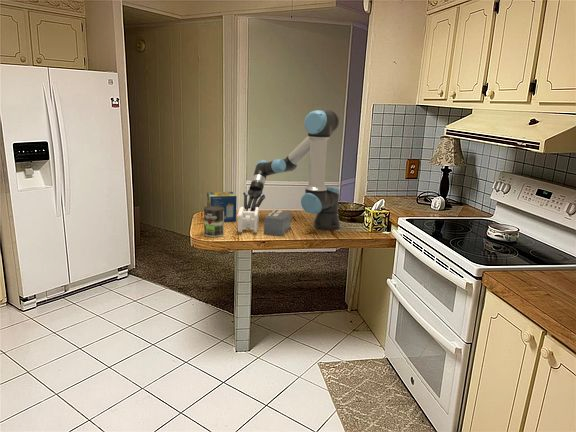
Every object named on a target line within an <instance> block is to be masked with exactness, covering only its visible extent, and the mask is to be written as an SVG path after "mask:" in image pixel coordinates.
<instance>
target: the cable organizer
mask: <svg viewBox="0 0 576 432" xmlns="http://www.w3.org/2000/svg"><path fill="white" fill-rule="evenodd" d="M259 216H260V206H259V207H256V209H255V210H254V211H246V210H245V208H244V206H240V207H239V209H238V212H237V214H236V218H237V232H238V233H241V234H242V232H243V230H246V229H250V231H251V230H253V233H254V234H257V233H258V229H259V222H260V221H259V219H260V217H259Z"/></svg>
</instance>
